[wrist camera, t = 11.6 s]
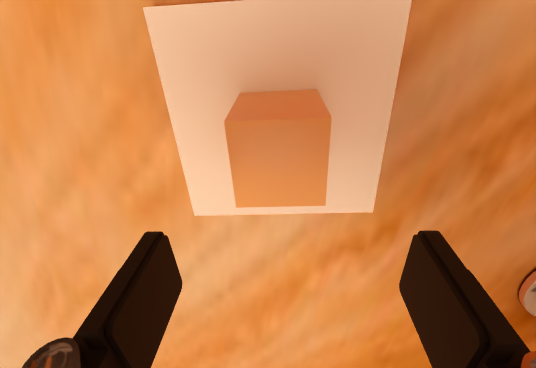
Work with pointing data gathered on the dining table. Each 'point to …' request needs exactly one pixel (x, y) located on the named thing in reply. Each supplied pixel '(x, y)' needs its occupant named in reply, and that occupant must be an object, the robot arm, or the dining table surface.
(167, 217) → the dining table surface
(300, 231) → the dining table surface
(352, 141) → the post board
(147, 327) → the robot arm
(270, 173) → the orange block
